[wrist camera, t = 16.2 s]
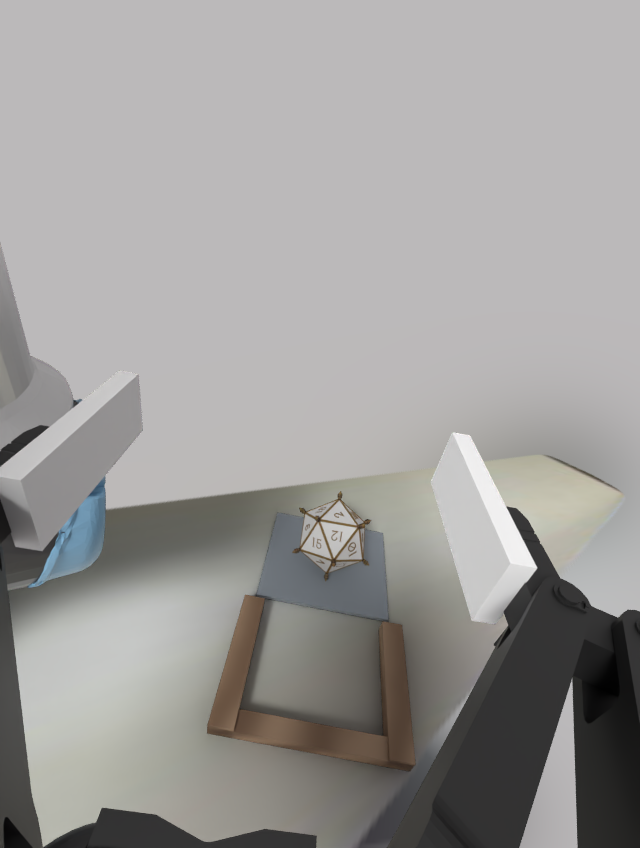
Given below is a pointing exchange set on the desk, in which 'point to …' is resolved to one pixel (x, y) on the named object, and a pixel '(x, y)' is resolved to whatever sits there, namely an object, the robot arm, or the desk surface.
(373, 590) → the mat
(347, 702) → the desk surface
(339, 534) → the game die
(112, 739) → the desk surface
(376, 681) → the desk surface
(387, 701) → the open frame
